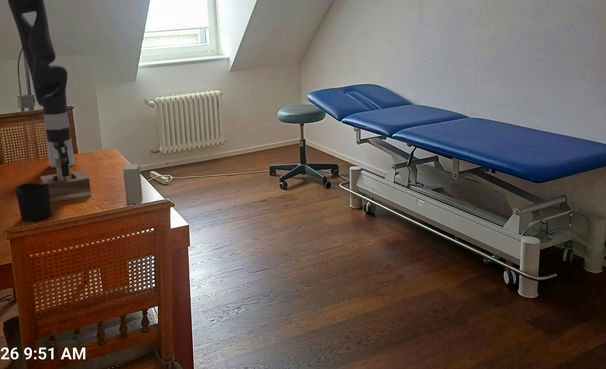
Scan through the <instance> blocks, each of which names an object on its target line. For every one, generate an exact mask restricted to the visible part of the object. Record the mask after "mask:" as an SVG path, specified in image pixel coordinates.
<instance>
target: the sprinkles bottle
mask: <svg viewBox="0 0 606 369" xmlns="http://www.w3.org/2000/svg"><path fill="white" fill-rule="evenodd" d="M54 158H55V161H56V168H55V169H56V174H57V176H58V181H64V180H70V179H71V172H72V171H71V166H69V165H68V168H69V176H65V177H63V176H62V170H61V165H60V161H59V160H58V159H57V154H56V152H55V153H54ZM68 158H69V154H68ZM63 161H66V160H65V159H63Z"/></svg>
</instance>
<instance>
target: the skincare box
mask: <svg viewBox="0 0 606 369" xmlns="http://www.w3.org/2000/svg"><path fill="white" fill-rule="evenodd" d="M140 165H141V164H140V163H126V165H125V166H124V168H123V170H122V172H123V180H124V192H125V201H126V202H125V204H126V206H128V205H129V206H131V205H130V204H135V205H139V204H138V203H140V204H141V203H142V200H143V189H142V187H143V186H142V177H141V168H140V167H141V166H140Z"/></svg>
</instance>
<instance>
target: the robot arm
mask: <svg viewBox="0 0 606 369" xmlns="http://www.w3.org/2000/svg"><path fill="white" fill-rule="evenodd" d="M7 3H8V6H9V8H10V12H11V14H12V17H13V20H14V23H15V25H16V28H17V31H18V34H19V36H18V37H19V38H20V43H21V47H22V51H23V54H24V58H25V60H26V61H25V62H26V63H27V67H28V70H29V73H30V77H31V81H32V87H33V90H34V96H35V100H36V102H37V104H38V105H39V106H40V107H42V108H43V109H42V110H43V126H44V133H45V139H46V146H47V153H48V155H47V156H48V161H49V166H50V168H53V169H54V168H55V169H56V161H55V158H54V153H55V152H56V154H57V159H58V160H59V161H60V165H61V170H62V176H63V177H65V176H69V168H68V165H69V166H70V167H71V166H74V165H75V157H74V150H73V142H72V135H71V128H70V123H69V122H70V121H69V120H70V119H69V113H68V104H67V102H68V101H67V92H66V89H67V85H68V84H67V83H68V71H67V69H66V68H65V66H63V65H61V64H53V62H55V61H56V53H55V49H54V45H53V41H52V39H51V35H50V31H49V30H50V29H49V28H50V27H49V23H48V22H49V21H48V16H47V10H46V4H45V1H44V0H7ZM34 12H35V13H36V14H35V20H34V22H33V24H31V22H29V20H28V19H27V18H26V17H25V15H24V14H28V13H34ZM51 64H52V65H51ZM68 154H69V158H68ZM63 159H65V160H66V161H63Z"/></svg>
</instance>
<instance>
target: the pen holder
mask: <svg viewBox="0 0 606 369" xmlns="http://www.w3.org/2000/svg"><path fill="white" fill-rule="evenodd" d="M14 190H15V195H16V200H17V204H18V208H19V210H18V211H19V213H20V217H21V218H20V219H21V220H23V221H24V222H27V223H28V222H31V223H32V222H33V223H34V222H40V221H44V220H47V219H49V218H50V217H51V216H52V204H51V203H52V202H50V194H49V185H48V183H45V184H42V185H41V184H38V183H34V182H28V183H27V182H26V183H22V184H20V185H17V186H16V187H15V188H14Z"/></svg>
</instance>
